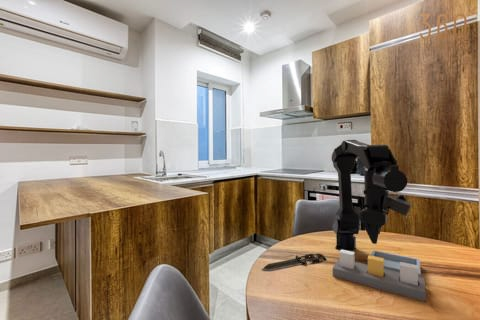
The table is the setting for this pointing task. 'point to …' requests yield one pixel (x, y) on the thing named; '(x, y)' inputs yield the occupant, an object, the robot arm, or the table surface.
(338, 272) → the fuse holder
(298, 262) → the black knife
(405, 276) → the block
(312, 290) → the table surface
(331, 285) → the table surface
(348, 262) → the fuse left
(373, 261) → the block
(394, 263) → the tray
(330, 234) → the table surface
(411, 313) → the table surface
